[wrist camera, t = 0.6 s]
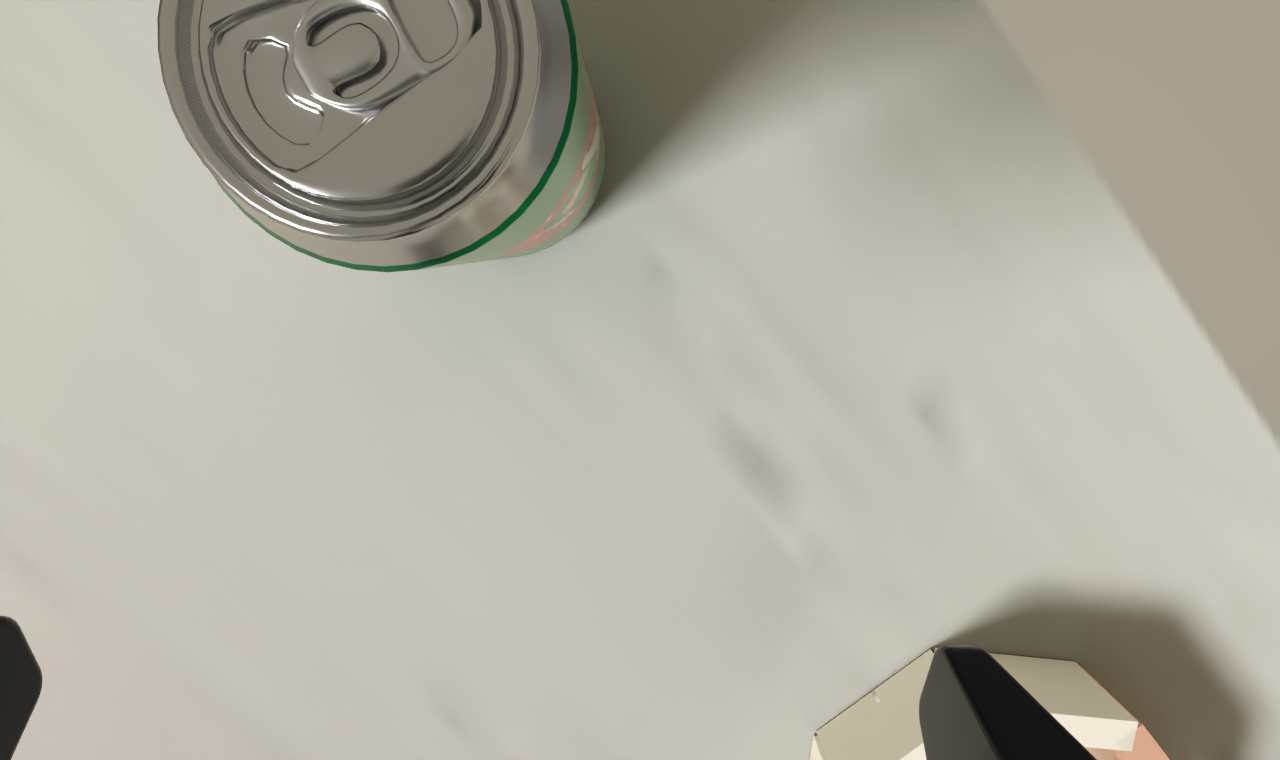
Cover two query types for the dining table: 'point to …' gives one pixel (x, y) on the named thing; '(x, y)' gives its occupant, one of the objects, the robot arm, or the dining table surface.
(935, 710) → the robot arm
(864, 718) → the bowl
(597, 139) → the soda can
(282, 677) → the dining table surface
